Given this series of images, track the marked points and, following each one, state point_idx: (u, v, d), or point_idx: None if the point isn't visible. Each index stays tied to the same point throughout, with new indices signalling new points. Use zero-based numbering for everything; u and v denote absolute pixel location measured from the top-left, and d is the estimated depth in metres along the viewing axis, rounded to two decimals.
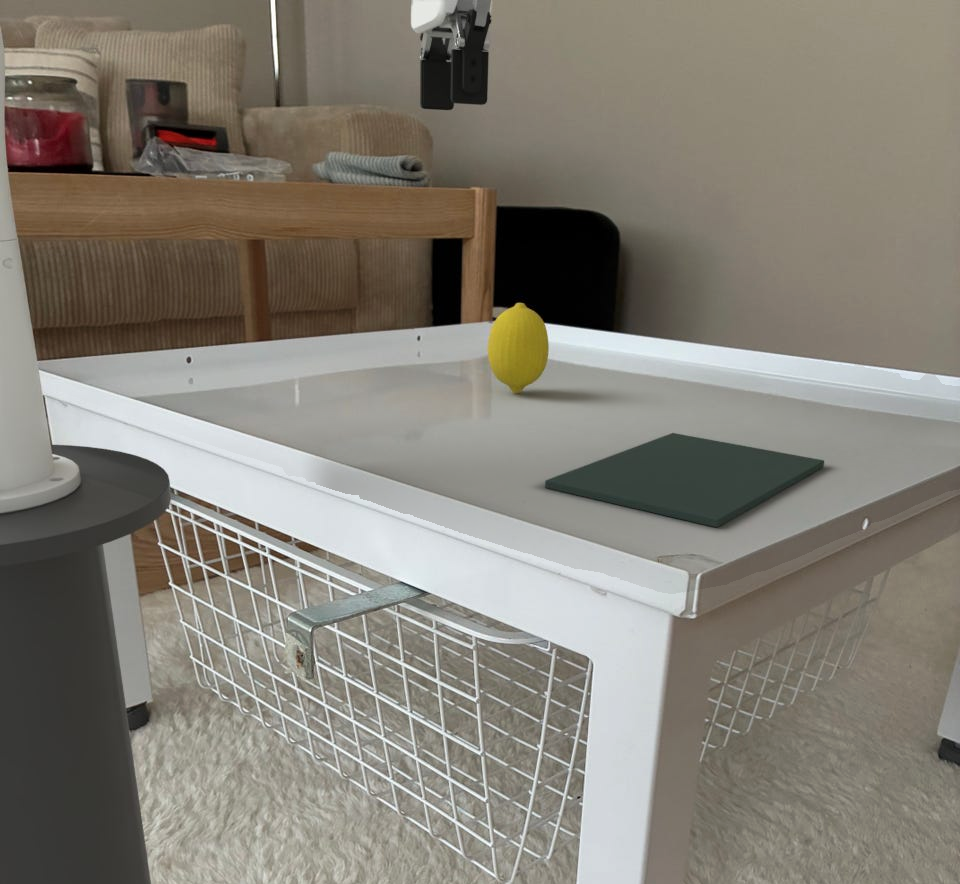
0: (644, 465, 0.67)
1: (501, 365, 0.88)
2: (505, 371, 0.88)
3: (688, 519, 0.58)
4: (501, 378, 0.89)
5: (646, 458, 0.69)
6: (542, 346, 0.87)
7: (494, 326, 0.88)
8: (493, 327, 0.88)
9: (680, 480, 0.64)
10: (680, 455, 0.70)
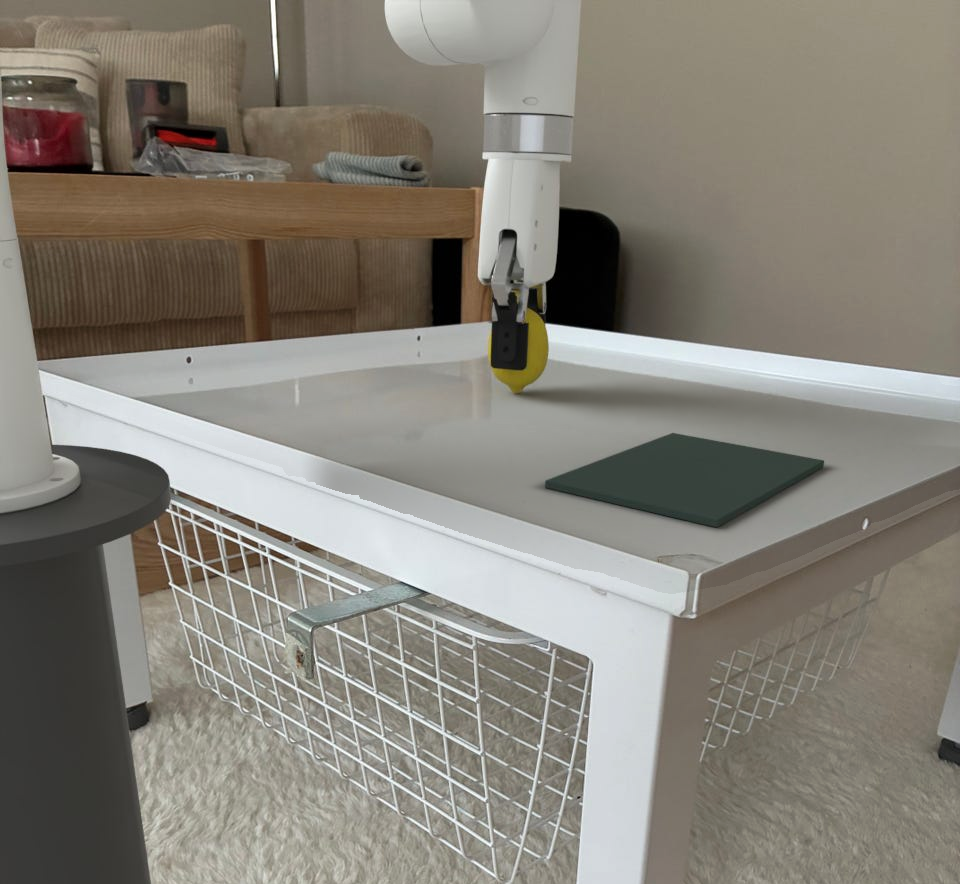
0: (644, 465, 0.67)
1: None
2: (505, 371, 0.88)
3: (688, 519, 0.58)
4: (501, 378, 0.89)
5: (646, 458, 0.69)
6: (542, 346, 0.87)
7: None
8: None
9: (680, 480, 0.64)
10: (680, 455, 0.70)
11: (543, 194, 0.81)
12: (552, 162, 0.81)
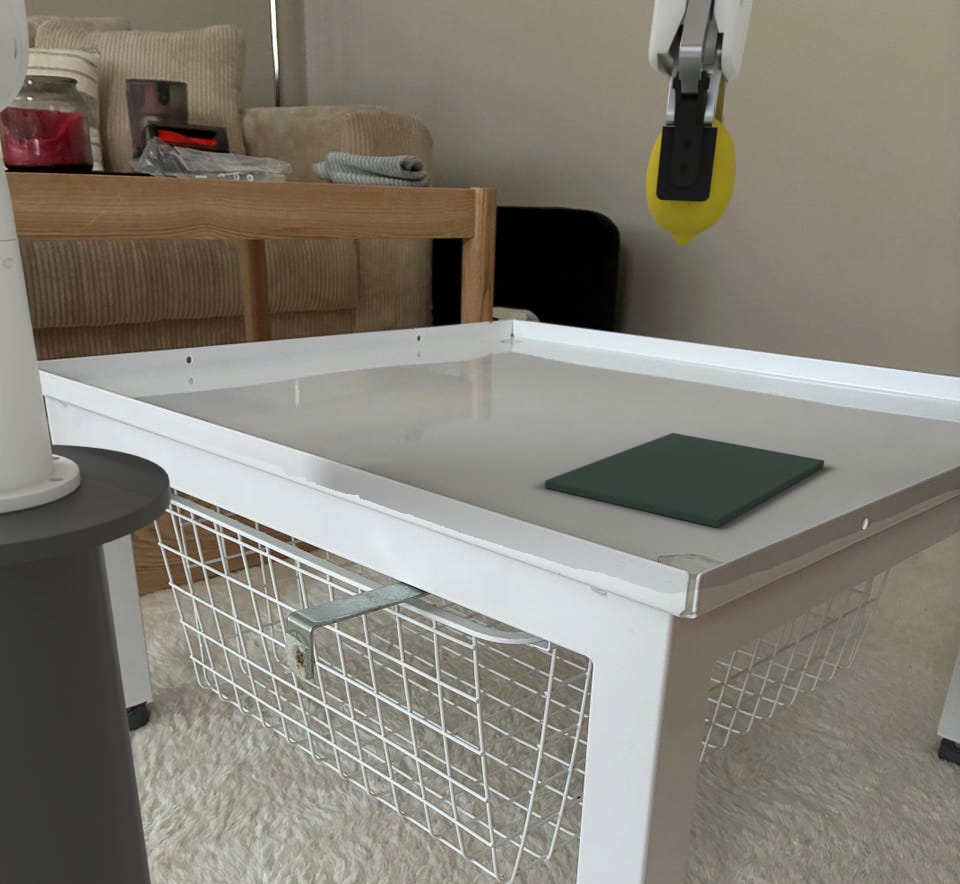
0: (644, 465, 0.67)
1: None
2: (674, 206, 0.61)
3: (688, 519, 0.58)
4: (667, 219, 0.62)
5: (646, 458, 0.69)
6: (730, 170, 0.60)
7: (660, 141, 0.61)
8: (658, 143, 0.61)
9: (680, 480, 0.64)
10: (680, 455, 0.70)
11: None
12: None
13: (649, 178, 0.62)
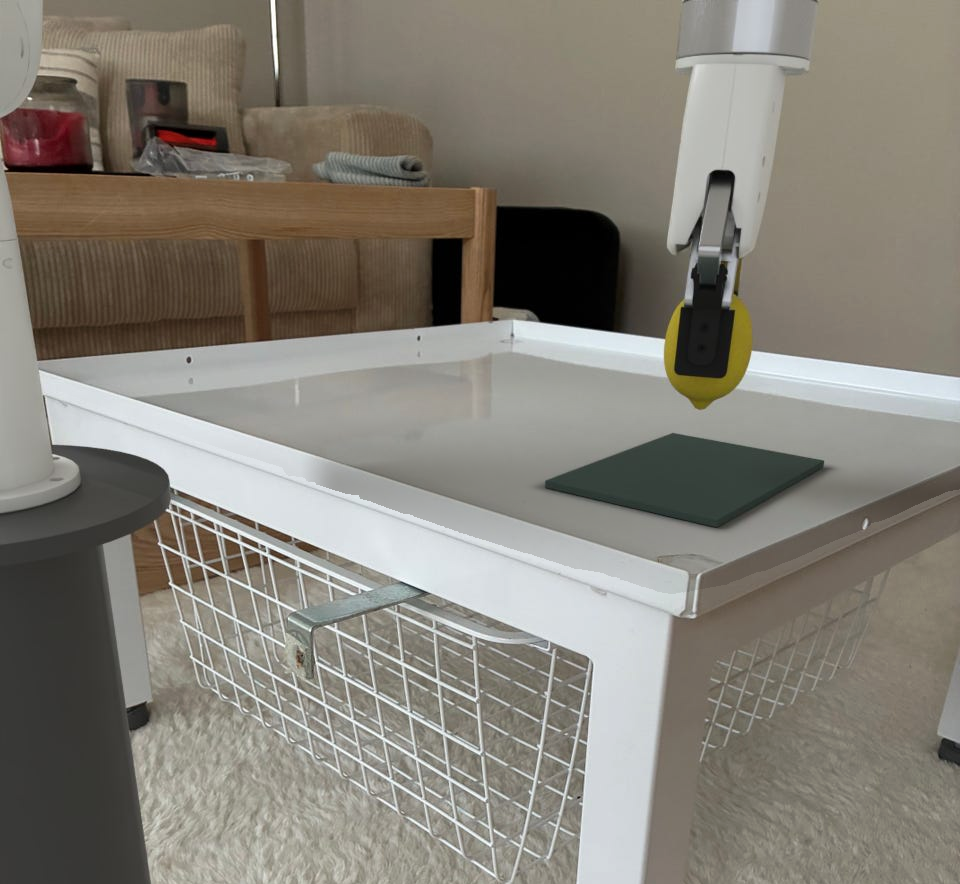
0: (644, 465, 0.67)
1: None
2: (692, 379, 0.62)
3: (688, 519, 0.58)
4: (685, 389, 0.63)
5: (646, 458, 0.69)
6: (747, 344, 0.61)
7: (678, 315, 0.62)
8: (676, 316, 0.62)
9: (680, 480, 0.64)
10: (680, 455, 0.70)
11: (773, 118, 0.54)
12: (784, 72, 0.55)
13: (667, 349, 0.62)
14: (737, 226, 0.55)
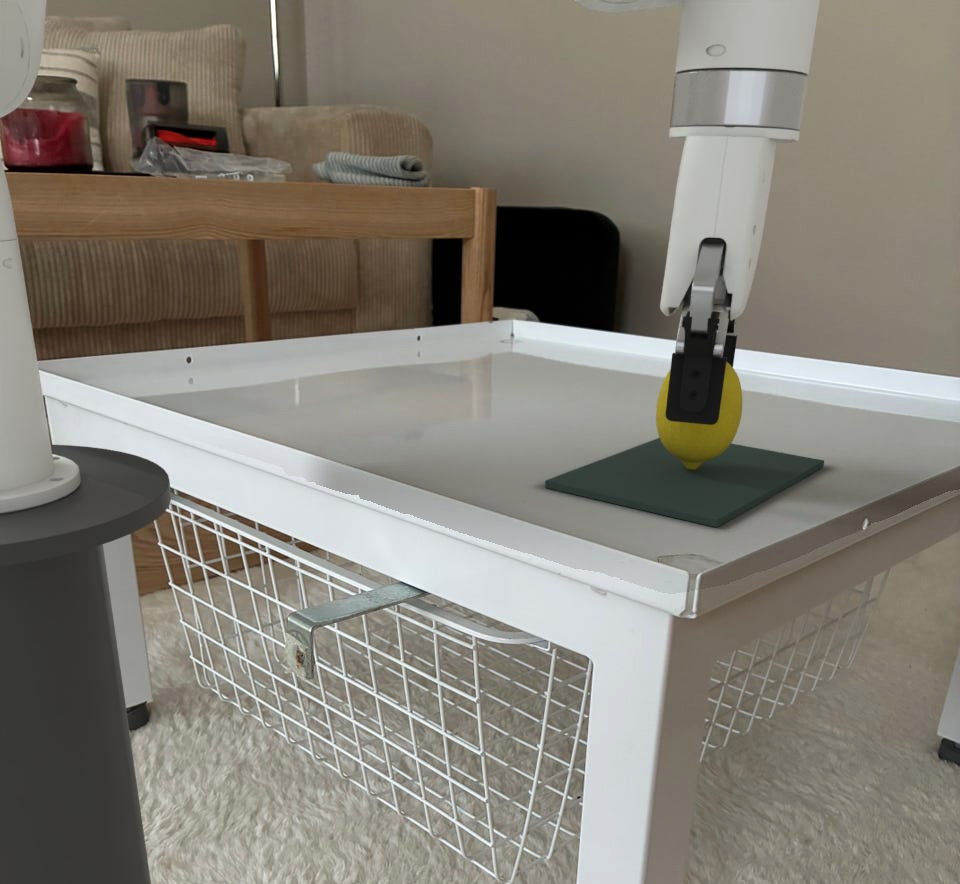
0: (644, 465, 0.67)
1: (679, 434, 0.63)
2: (683, 442, 0.63)
3: (688, 519, 0.58)
4: (676, 451, 0.64)
5: (646, 458, 0.69)
6: (737, 409, 0.63)
7: None
8: (668, 381, 0.63)
9: (680, 480, 0.64)
10: None
11: (764, 187, 0.56)
12: (774, 142, 0.56)
13: (659, 412, 0.64)
14: (728, 291, 0.57)
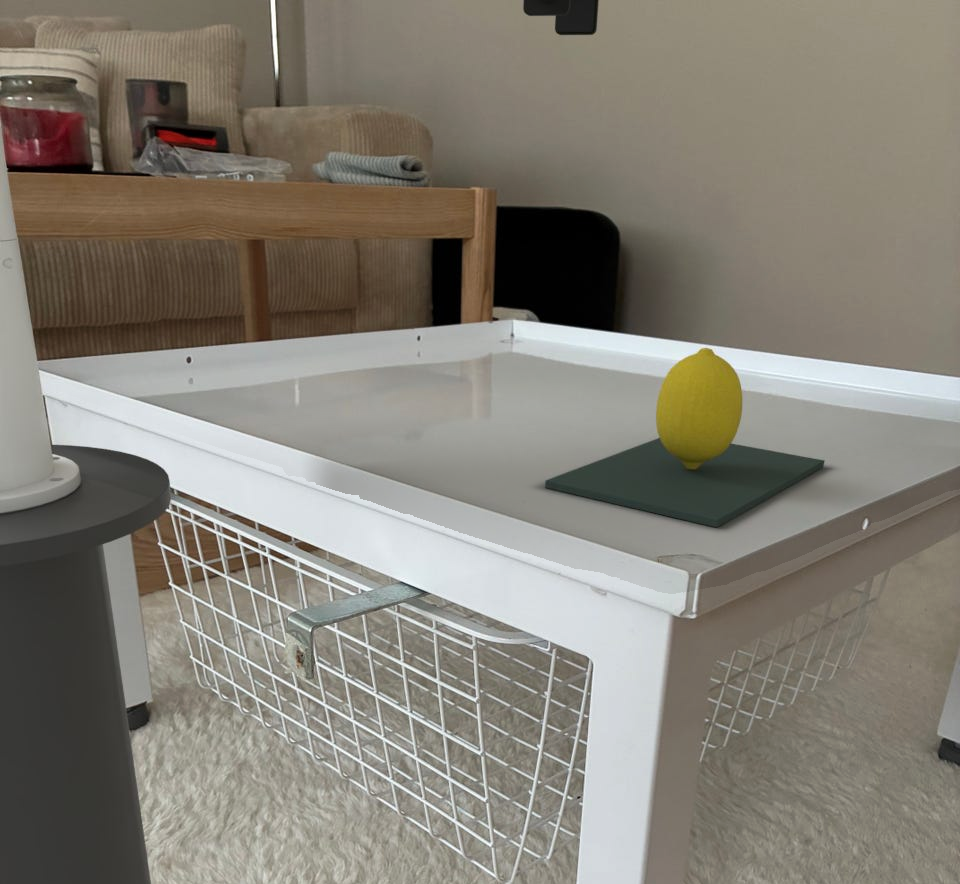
0: (644, 465, 0.67)
1: (679, 434, 0.63)
2: (683, 442, 0.63)
3: (688, 519, 0.58)
4: (676, 451, 0.64)
5: (646, 458, 0.69)
6: (737, 409, 0.63)
7: (670, 380, 0.63)
8: (668, 381, 0.63)
9: (680, 480, 0.64)
10: None
11: None
12: None
13: (659, 412, 0.64)
14: None
